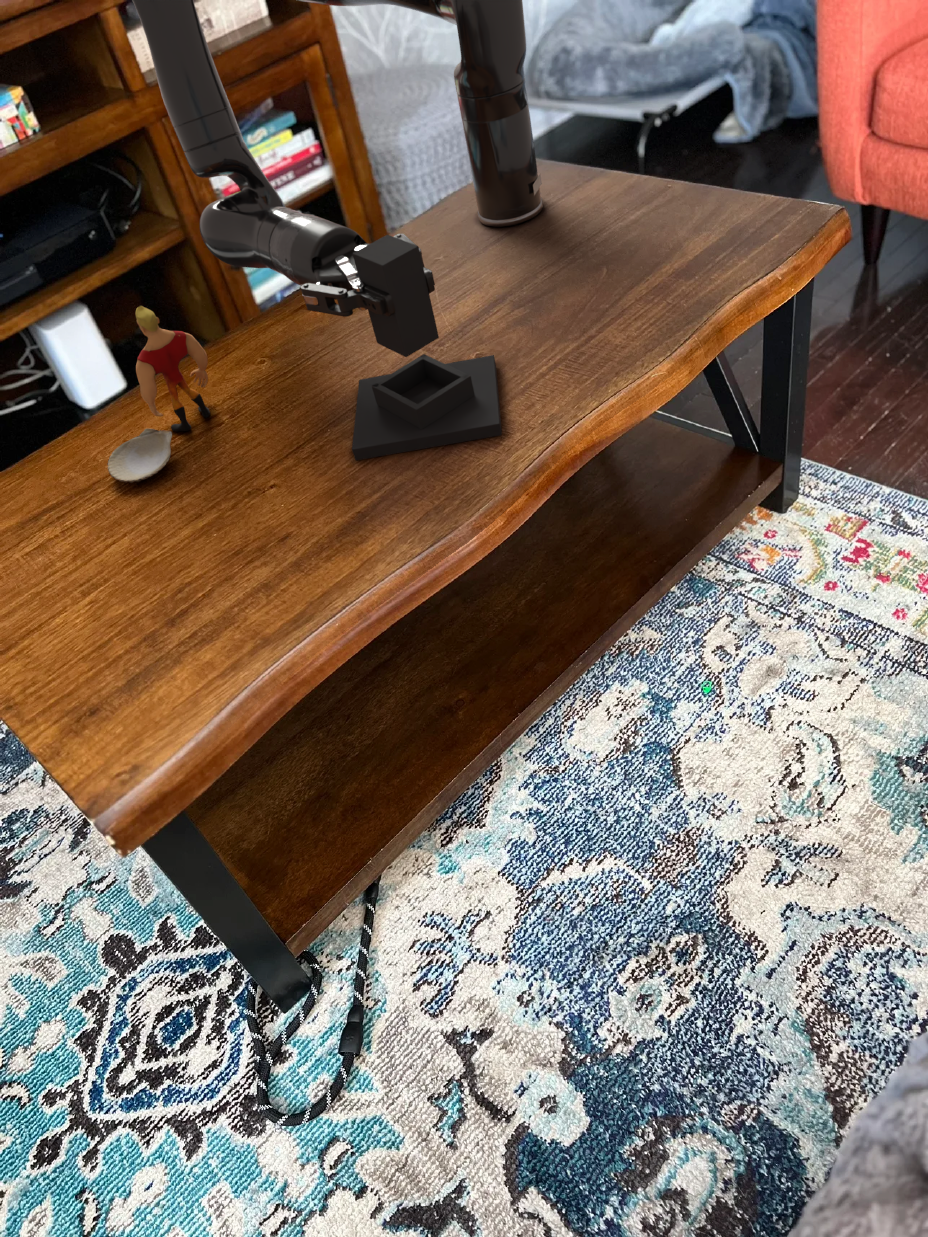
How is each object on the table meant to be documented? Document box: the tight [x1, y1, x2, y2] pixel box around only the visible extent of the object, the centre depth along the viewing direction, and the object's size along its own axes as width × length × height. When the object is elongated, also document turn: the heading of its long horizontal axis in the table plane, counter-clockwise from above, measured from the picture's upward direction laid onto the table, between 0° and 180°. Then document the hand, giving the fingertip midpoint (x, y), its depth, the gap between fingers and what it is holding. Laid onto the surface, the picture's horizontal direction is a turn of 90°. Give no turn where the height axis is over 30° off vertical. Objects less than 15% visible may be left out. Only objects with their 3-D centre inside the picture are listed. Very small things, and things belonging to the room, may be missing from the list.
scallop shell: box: [106, 428, 173, 483], centre depth 109 cm, size 8×3×8 cm
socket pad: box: [351, 353, 503, 461], centre depth 106 cm, size 14×16×4 cm
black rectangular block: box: [353, 234, 440, 358], centre depth 97 cm, size 5×4×10 cm
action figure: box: [135, 305, 211, 432], centre depth 110 cm, size 10×4×15 cm, turn 139°
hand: (410, 294), depth 95 cm, fingers closed on black rectangular block, 4 cm apart
